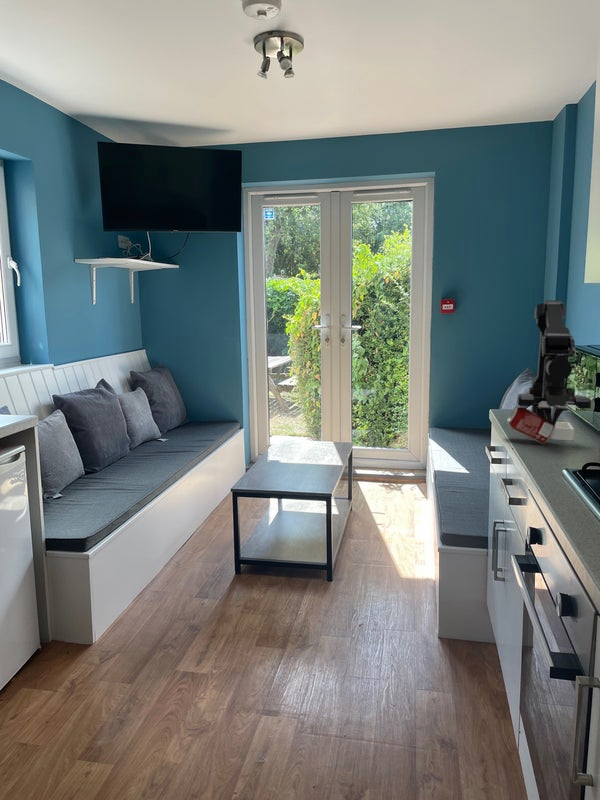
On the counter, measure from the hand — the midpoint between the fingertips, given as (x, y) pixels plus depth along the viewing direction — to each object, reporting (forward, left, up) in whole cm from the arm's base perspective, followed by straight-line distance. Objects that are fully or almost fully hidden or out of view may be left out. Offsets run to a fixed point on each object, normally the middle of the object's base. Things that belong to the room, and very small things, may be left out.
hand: (550, 430), depth 164 cm
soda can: (-1, 0, -1) cm, 2 cm away
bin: (-12, +1, -4) cm, 13 cm away
